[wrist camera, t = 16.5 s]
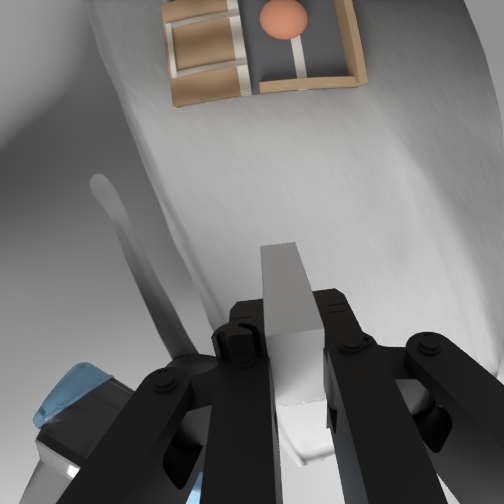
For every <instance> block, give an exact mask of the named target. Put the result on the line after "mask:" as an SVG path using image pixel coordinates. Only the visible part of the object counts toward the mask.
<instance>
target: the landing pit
mask: <svg viewBox="0 0 504 504" xmlns="http://www.w3.org/2000/svg"><path fill="white" fill-rule="evenodd" d="M269 1H271V0H237V2H238V8H239V14H240V20H241V27H242V33H243V39H244V46H245V52H246V58H247V65H248V72H249V78H250V85H251V92H252V95H256V94H265V93H274V92H284V91H295V90H308V89H326V88H356V87H359V86H361V85H364V84H366V83H368V80H367V74H366V67H365V61H364V56H363V50H362V45H361V40H360V35H359V30H358V25H357V21H356V16H355V12H354V7H353V3H352V0H295V1H297V2H298V3H300V4H301V5H302V6H303V7H304V9H305V10H306V13H307V16H308V23H307V26H306V28H305V30H304V31H303V32H302V33H301V34H300V35H299V36H297V37H295V38H292V39H288V40H282V39H277V38H274V37H272V36H270V35H269V34H267V33H266V32H265V31H264V29H263V28H262V26H261V23H260V12H261V10H262V8H263V7H264V6H265V4H266V3H268V2H269Z"/></svg>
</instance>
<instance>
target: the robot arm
mask: <svg viewBox="0 0 504 504" xmlns="http://www.w3.org/2000/svg"><path fill="white" fill-rule="evenodd" d="M261 264H262V284H263V299H257V300H248V301H240V302H236V304H235V305H234V306H233V307H232V308H231V310H230V316H229V323H227V324H225V325H223V326H220V327H219V328H218V329H217V330H216V331H214V333H213V335H212V337H211V339H212V342H213V346H214V350H215V354H216V357H215V356H210V355H203V354H192V355H186V356H182V357H179V358H177V359H175V360H173V361H171V362H170V363H169V364H168V365H167V366H166V367H165V368H161V369H158V370H156V371H154V372H152V373H150V374H149V375H148V376H147V377H146V378H145V379H144V380H143V381H142V383H141V384H140V385H139V387H138V388H137V390H136V391H134V390H132V389H130V388H129V387H127V386H126V385H124V384H122V383H121V382H119V381H118V380H116V379H115V378H114V376H112V375H109V374H107V373H105V372H103V371H101V370H100V369H98V368H97V367H95V366H94V365H92V364H90V363H86V362H83V363H79V364H77V365H75V366H74V367H73V368H72V369H70V370H69V371H68V372H67V374H66V375H65V376H64V377H63V378H62V379H61V380H60V381H59V382H58V384H57V385H56V386H55V387H54V389H53V390H52V391H51V393H50V394H49V395H48V396H47V398H46V399H45V400H44V402H43V403H42V405H41V407H40V408H39V410H38V411H37V412H36V414H35V416H34V418H33V423H34V424H35V425H36V428H38V429H41V430H40V432H39V434H38V436H37V438H36V440H35V442H36V445H37V449H38V451H39V454H40V460H39V462H38V464H37V466H36V468H35V470H34V472H33V474H32V476H31V478H30V480H29V483H28V485H27V487H26V489H25V491H24V494H23V496H22V498H21V500H20V502H19V504H283V497H282V481H281V466H280V451H279V436H278V421H277V414H276V407H277V406H286V405H294V404H302V403H309V402H316V401H322V400H325V394H326V399H327V428H330V430H331V435H332V439H333V444H334V449H335V454H336V459H337V464H338V469H339V474H340V479H341V484H342V490H343V495H344V500H345V504H448V502H447V500H446V497H445V494H444V492H443V489H442V487H441V484H440V482H439V479H438V476H439V477H440V478H441V479H442V481H443V482H444V483H445V484H446V486H447V487H448V488H449V490H450V491H451V492H452V494H453V495H454V496H455V498H456V499H457V500H458V502H459V503H460V504H504V385H503V384H502V383H501V382H500V381H499V380H497V379H496V378H495V377H494V376H493V375H492V374H490V373H489V372H488V371H487V370H486V369H484V368H483V367H482V366H481V365H480V364H478V363H477V362H476V361H475V360H474V359H472V358H471V357H470V356H469V355H468V354H466V353H465V352H464V351H463V350H461V349H460V348H459V347H458V346H457V345H455V344H454V343H453V342H452V341H450V340H449V339H448V338H446V337H445V336H443V335H441V334H438V333H434V332H421V333H417V334H415V335H413V336H412V337H410V338H409V339H408V341H407V343H406V347H386V346H381V345H378V344H377V342H376V341H375V340H374V338H373V337H372V336H370V335H368V334H366V333H364V332H362V329H361V327H360V325H359V323H358V321H357V319H356V317H355V315H354V313H353V311H352V310H351V307H350V305H349V304H348V301H347V299H346V297H345V295H344V294H343V293H341V292H340V291H338V290H337V289H335V288H333V289H326V290H319V291H312V290H311V287H310V284H309V281H308V278H307V275H306V272H305V270H304V267H303V264H302V261H301V258H300V255H299V252H298V250H297V247H296V244H295V242H292V243H284V244H276V245H268V246H261ZM436 473H437V474H438V476H437V474H436Z"/></svg>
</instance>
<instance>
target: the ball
mask: <svg viewBox="0 0 504 504" xmlns="http://www.w3.org/2000/svg"><path fill="white" fill-rule="evenodd" d="M260 23H261V26H262V28H263V29H264V31H265V32H266V33H267V34H269V35H270V36H272V37H274V38H277V39H282V40H288V39H292V38H295V37H297V36H299V35H300V34H301V33H302V32H303V31H304V30H305V28H306V26H307V23H308V16H307V13H306V10H305V9H304V7H303V6H302V5H301V4H300V3H298V2H297V1H295V0H271V1H269V2H268V3H266V4H265V6H264V7H263V8H262V10H261V12H260Z"/></svg>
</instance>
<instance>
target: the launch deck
mask: <svg viewBox="0 0 504 504" xmlns="http://www.w3.org/2000/svg"><path fill="white" fill-rule="evenodd" d="M161 7H162V17H163V27H164V36H165V44H166V53H167V61H168V69H169V76H170V84H171V91H172V98H173V105H174V106H175V107H178V108H179V107H184V106H188V105H194V104H199V103H204V102H210V101H216V100H222V99H228V98H234V97H241V96H249V95H252V92H251V85H250V78H249V72H248V65H247V58H246V52H245V46H244V39H243V33H242V27H241V20H240V14H239V8H238V2H237V0H176V1H172V2H168V3H164V4H161Z"/></svg>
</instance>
